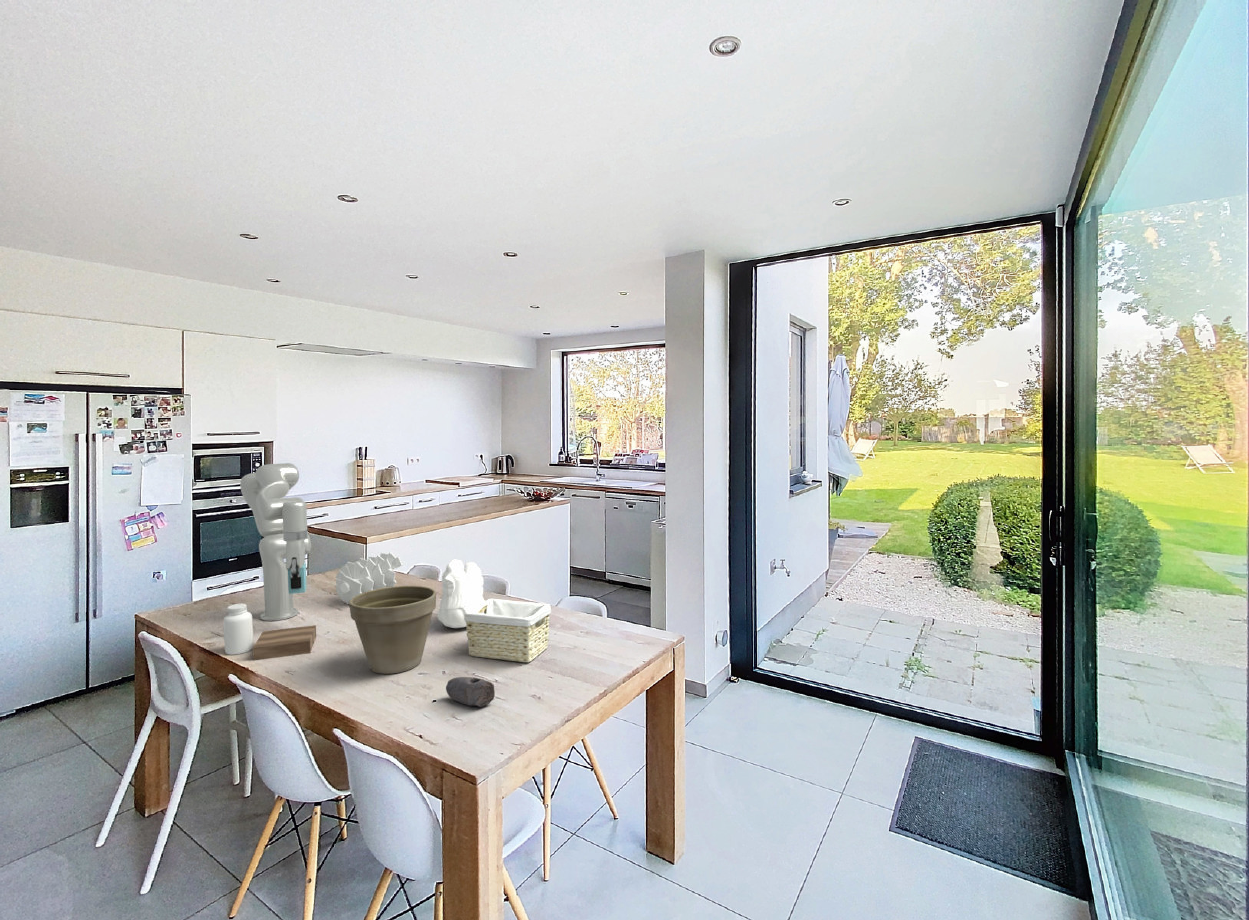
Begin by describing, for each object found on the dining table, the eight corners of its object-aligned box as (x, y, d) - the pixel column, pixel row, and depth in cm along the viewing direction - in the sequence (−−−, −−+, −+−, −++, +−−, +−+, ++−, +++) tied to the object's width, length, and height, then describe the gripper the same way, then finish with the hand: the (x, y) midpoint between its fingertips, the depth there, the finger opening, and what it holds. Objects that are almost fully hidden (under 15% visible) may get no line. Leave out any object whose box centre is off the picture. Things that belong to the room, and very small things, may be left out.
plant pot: (374, 648, 198) (372, 584, 196) (448, 649, 197) (447, 584, 195) (335, 681, 173) (332, 608, 171) (420, 682, 172) (418, 608, 171)
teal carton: (290, 590, 214) (289, 565, 214) (306, 588, 216) (305, 564, 215) (288, 594, 210) (287, 568, 209) (304, 592, 212) (303, 567, 211)
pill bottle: (223, 657, 191) (220, 611, 190) (226, 648, 199) (224, 604, 198) (252, 652, 195) (250, 607, 194) (254, 644, 202) (252, 600, 201)
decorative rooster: (462, 636, 208) (460, 566, 206) (427, 630, 215) (425, 561, 213) (505, 615, 231) (504, 551, 229) (473, 609, 237) (471, 547, 236)
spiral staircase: (338, 615, 245) (383, 595, 268) (366, 601, 238) (411, 582, 261) (320, 574, 246) (367, 557, 269) (348, 559, 239) (394, 543, 262)
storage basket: (462, 657, 190) (461, 611, 189) (490, 639, 206) (489, 597, 205) (530, 666, 183) (529, 619, 182) (553, 647, 198) (552, 603, 197)
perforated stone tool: (440, 701, 161) (439, 675, 160) (454, 693, 165) (453, 668, 165) (483, 713, 154) (482, 687, 153) (497, 704, 158) (496, 679, 158)
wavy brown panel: (263, 642, 204) (263, 631, 203) (316, 636, 209) (315, 625, 209) (253, 660, 189) (252, 648, 188) (310, 653, 194) (309, 641, 194)
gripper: (287, 531, 218) (289, 580, 219) (279, 541, 202) (281, 594, 204) (310, 530, 221) (312, 579, 222) (304, 539, 205) (306, 592, 206)
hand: (297, 585), depth 213 cm, fingers closed on teal carton, 5 cm apart
